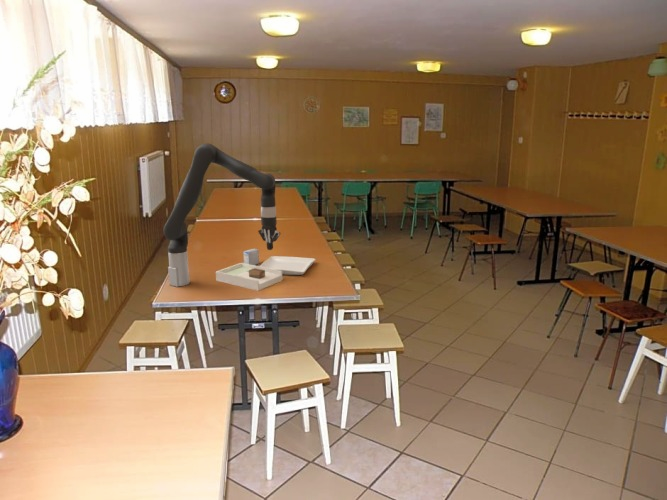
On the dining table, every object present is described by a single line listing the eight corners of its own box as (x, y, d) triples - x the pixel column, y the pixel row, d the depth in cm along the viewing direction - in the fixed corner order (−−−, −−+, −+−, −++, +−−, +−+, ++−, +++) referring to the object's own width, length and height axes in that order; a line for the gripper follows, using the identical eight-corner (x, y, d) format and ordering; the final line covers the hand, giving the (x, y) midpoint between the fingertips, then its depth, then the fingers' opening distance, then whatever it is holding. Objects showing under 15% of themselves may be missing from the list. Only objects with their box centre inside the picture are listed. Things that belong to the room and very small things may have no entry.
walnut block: (259, 279, 265) (259, 272, 264) (249, 276, 268) (248, 270, 267) (265, 276, 268) (264, 270, 267) (254, 274, 272) (254, 268, 271)
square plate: (304, 278, 276) (304, 271, 275) (255, 275, 282) (255, 268, 281) (316, 263, 302) (316, 257, 301) (271, 261, 307) (271, 255, 306)
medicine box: (254, 262, 304) (253, 248, 302) (259, 264, 301) (258, 249, 299) (243, 265, 298) (243, 251, 296) (249, 267, 295) (248, 252, 293)
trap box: (258, 290, 256) (257, 281, 255) (216, 280, 272) (215, 271, 271) (282, 280, 272) (282, 271, 271) (241, 271, 287) (241, 262, 286)
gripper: (253, 215, 255) (254, 249, 260) (274, 218, 248) (275, 253, 252) (263, 212, 261) (264, 246, 266) (284, 215, 254) (285, 249, 258)
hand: (270, 249), depth 259 cm, fingers closed
